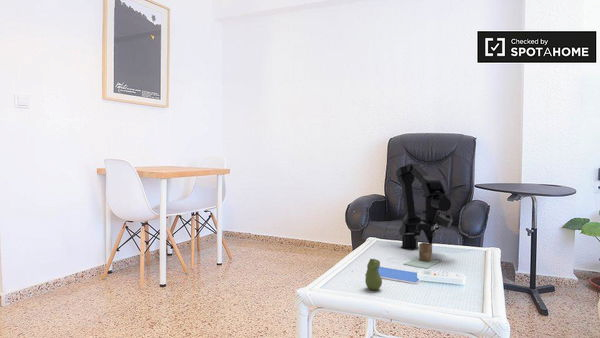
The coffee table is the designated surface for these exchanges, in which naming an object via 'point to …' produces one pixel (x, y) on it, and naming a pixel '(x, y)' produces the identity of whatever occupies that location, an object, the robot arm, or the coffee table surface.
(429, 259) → the walnut block
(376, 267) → the pear
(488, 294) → the coffee table surface
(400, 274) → the tablet computer
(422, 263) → the pale green flat panel
